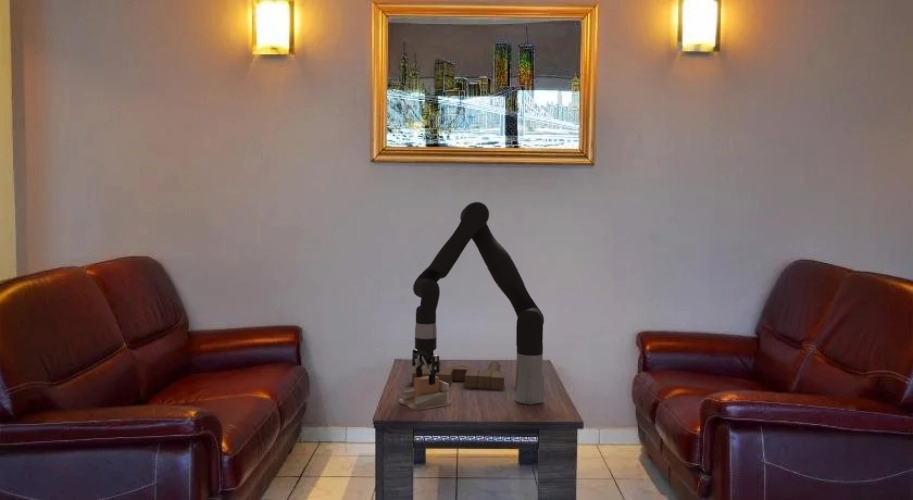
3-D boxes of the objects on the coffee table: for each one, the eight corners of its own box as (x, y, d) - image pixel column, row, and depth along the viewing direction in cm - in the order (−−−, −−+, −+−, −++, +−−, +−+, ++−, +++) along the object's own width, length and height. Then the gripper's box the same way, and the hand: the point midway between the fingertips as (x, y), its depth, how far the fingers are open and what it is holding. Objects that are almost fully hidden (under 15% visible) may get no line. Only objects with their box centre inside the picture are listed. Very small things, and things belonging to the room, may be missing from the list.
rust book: (438, 399, 242) (439, 377, 242) (419, 403, 238) (419, 380, 237) (433, 397, 245) (433, 375, 245) (413, 400, 241) (414, 377, 240)
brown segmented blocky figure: (503, 391, 261) (506, 372, 290) (503, 376, 261) (506, 359, 290) (411, 386, 265) (423, 369, 294) (411, 372, 265) (423, 356, 294)
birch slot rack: (450, 404, 240) (451, 384, 240) (415, 410, 232) (416, 390, 232) (432, 396, 250) (433, 377, 250) (398, 401, 242) (398, 382, 242)
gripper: (446, 338, 236) (445, 385, 237) (424, 331, 247) (423, 376, 248) (427, 340, 231) (426, 388, 232) (406, 333, 243) (405, 379, 244)
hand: (425, 381), depth 240 cm, fingers open, 8 cm apart
